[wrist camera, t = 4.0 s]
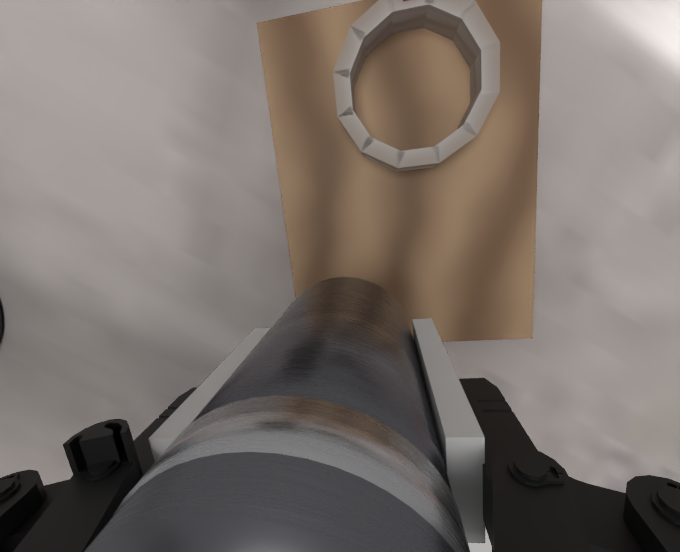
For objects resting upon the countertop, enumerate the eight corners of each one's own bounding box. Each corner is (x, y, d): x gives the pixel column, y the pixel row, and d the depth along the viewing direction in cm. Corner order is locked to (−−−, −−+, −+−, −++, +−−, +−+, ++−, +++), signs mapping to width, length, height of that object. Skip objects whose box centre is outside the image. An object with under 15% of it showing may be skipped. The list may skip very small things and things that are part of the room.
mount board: (307, 339, 28) (293, 363, 24) (264, 34, 23) (238, -3, 19) (524, 330, 25) (551, 355, 21) (531, -21, 20) (570, -79, 16)
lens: (292, 398, 16) (101, 835, 5) (273, 281, 14) (-46, 526, 4) (416, 395, 15) (518, 919, 4) (408, 270, 14) (529, 551, 3)
